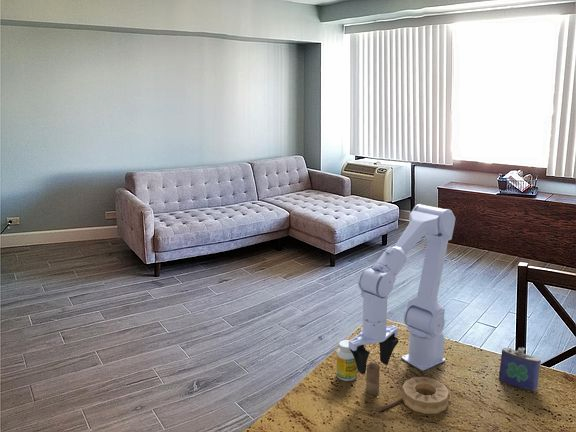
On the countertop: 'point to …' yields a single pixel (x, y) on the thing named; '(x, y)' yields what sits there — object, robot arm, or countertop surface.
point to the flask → (519, 369)
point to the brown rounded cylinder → (372, 378)
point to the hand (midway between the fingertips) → (373, 367)
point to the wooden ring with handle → (423, 403)
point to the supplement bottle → (346, 362)
